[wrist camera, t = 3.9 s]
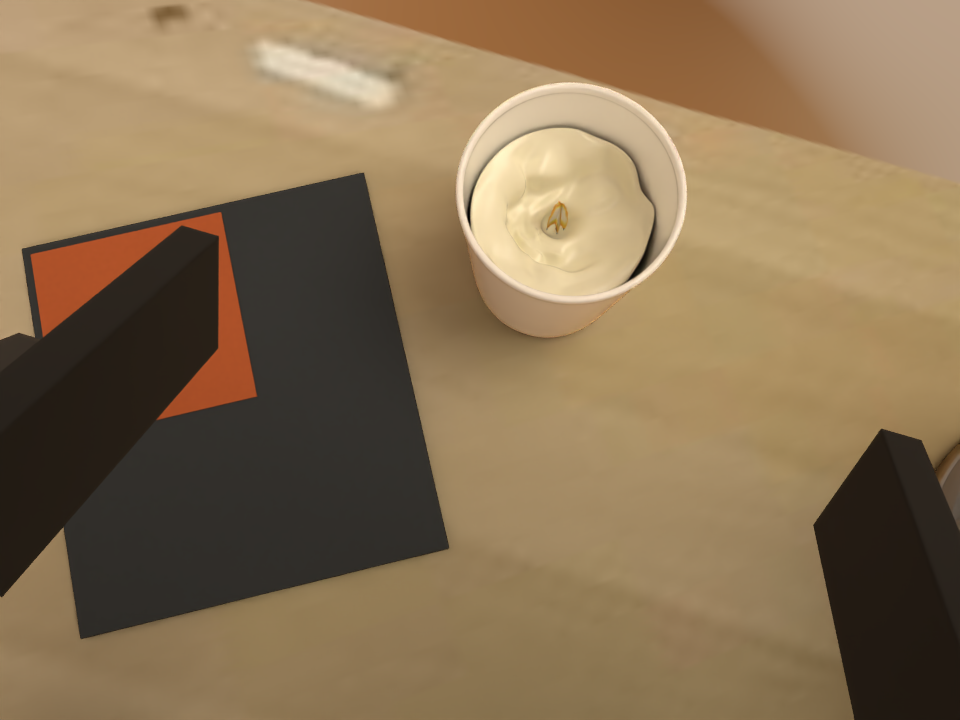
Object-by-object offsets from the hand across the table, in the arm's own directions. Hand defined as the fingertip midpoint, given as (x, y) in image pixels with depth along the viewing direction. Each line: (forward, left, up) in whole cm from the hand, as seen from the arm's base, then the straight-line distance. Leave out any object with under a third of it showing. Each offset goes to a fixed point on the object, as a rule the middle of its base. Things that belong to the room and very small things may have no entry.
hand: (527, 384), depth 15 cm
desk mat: (+14, -6, -28) cm, 31 cm away
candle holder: (-5, -9, -28) cm, 30 cm away
